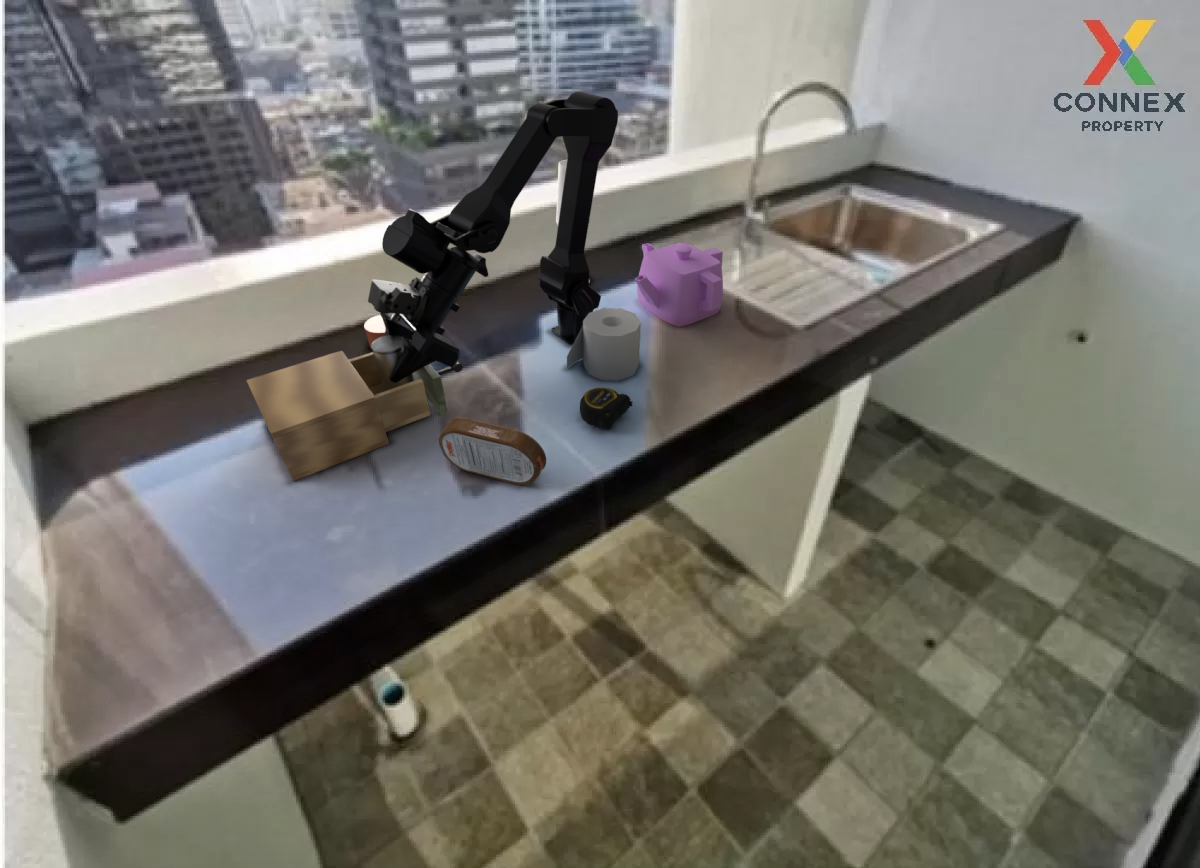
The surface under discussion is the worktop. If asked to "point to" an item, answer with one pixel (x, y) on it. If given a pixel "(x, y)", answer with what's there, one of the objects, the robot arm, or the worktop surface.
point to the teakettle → (680, 283)
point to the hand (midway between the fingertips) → (386, 373)
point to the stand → (374, 328)
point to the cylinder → (389, 359)
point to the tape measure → (603, 407)
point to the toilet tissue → (608, 344)
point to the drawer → (404, 392)
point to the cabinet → (319, 413)
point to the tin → (492, 451)
